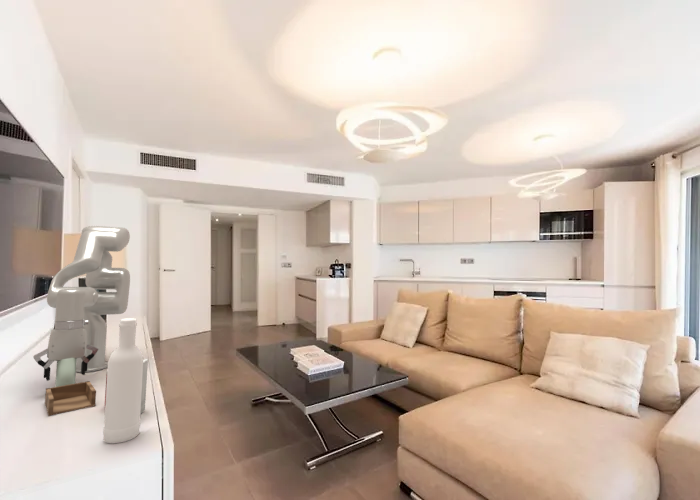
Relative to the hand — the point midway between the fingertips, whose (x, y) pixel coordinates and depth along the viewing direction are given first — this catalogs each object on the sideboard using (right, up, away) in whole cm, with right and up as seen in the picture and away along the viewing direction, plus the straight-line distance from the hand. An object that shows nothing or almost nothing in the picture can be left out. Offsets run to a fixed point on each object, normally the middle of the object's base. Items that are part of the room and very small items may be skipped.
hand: (65, 376), depth 117 cm
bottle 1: (0, -6, 0) cm, 6 cm away
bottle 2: (+37, -5, -28) cm, 47 cm away
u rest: (+9, -5, -9) cm, 14 cm away
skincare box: (+32, -6, -16) cm, 36 cm away
